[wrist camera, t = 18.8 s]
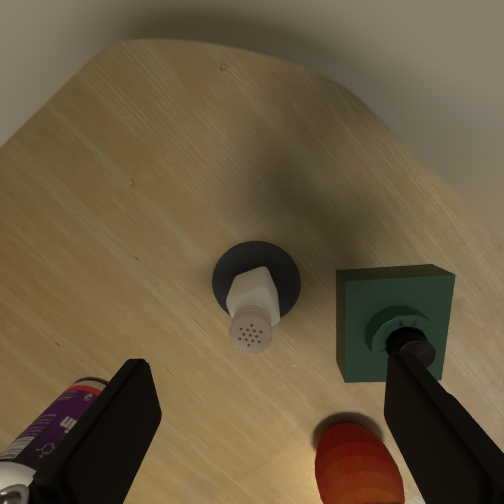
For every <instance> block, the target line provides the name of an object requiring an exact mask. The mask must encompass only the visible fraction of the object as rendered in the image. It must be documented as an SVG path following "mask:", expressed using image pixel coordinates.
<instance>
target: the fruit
mask: <svg viewBox="0 0 504 504" xmlns="http://www.w3.org/2000/svg"><path fill="white" fill-rule="evenodd" d="M315 477H316V481H317V485H318V489H319V493H320V497H321V500H322V502H323V503H324V504H404V502H405V496H404V488H403V481H402V477H401V474H400V472H399V469H398V466H397V464H396V463H395V461H394V459H393V458H392V456H391V454H390V453H389V451H388V449H387V448H386V446H385V445H384V444H383V443H382V441H381V440H380V439H379V438H378V437H377V436H376V435H375V434H373V433H372V432H371V431H370V430H368V429H366V428H365V427H363V426H361V425H358V424H355V423H341V424H337V425H335V426H332V427H331V428H329V429H328V430H327V431H326V432H325V433H324V435H323V437H322V438H321V440H320V441H319V443H318V447H317V453H316V458H315Z"/></svg>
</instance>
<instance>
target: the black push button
mask: <svg viewBox="0 0 504 504" xmlns="http://www.w3.org/2000/svg"><path fill="white" fill-rule="evenodd" d="M386 345H387V348H388V350H389V351H390V353H391V354H393V352H409V351H410V352H413V353H414V354H415V355H416V357H417V358H418V359H419V360H420V361H421V363H422V364H423V365H424V366H425V367H426V368H428V367H429V366H430V365H431V364H432V363H433V362H434V360H435V357H436V351H435V349H434V347H433V346H432V345H431V344H430V343H429V342H428V341H427V340H426V339H425V338H424V337H423V336H422V335H421V334H420V333H419V332H418V331H416V330H415V329H412V328H408V327H403V328H399V329H397V330H395V331H393V332H392V333H391V334H390V335H389V336H388V338H387V342H386Z"/></svg>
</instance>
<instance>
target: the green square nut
mask: <svg viewBox="0 0 504 504" xmlns="http://www.w3.org/2000/svg"><path fill="white" fill-rule="evenodd" d="M454 282H455V274H453V273H451V272H448V271H446V270H444V269H442V268H439V267H437V266H435V265H433V264H429V265H413V266H398V267H382V268H367V269H351V270H337V271H336V328H337V364H338V367H339V369H340V372H341V374H342V377H343V379H344V382H345V383H354V382H386V376H387V363H388V357H389V356H392V354H391V353H390V351H389V350H388V348H387V345H386V342H387V338H388V336H389V335H390V334H391V333H392V332H393V331H395V330H397V329H399V328H403V327H408V328H412V329H415V330H416V331H418V332H419V333H420V334H421V335H422V336H423V337H424V338H425V339H426V340H427V341H428V342H429V343H430V344H431V345H432V346H433V347H434V349H435V351H436V357H435V360H434V362H433V363H432V364H431V365H430V366H429V367H428V368H427V370H428V371H429V372H430V373H431V374H432V375H433V377H434V378H435V379H436V380H441V378H442V371H443V364H444V356H445V349H446V341H447V334H448V326H449V319H450V311H451V304H452V296H453V289H454Z"/></svg>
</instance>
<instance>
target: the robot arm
mask: <svg viewBox="0 0 504 504" xmlns="http://www.w3.org/2000/svg"><path fill="white" fill-rule="evenodd" d="M161 417H162V413H161V408H160V404H159V401H158V397H157V393H156V389H155V385H154V381H153V377H152V373H151V370H150V366H149V363H147V362H146V361H145V360H144V359H129V360H127V361H126V362H125V363H124V365H123V366H122V367H121V368H120V369H119V371H118V372H117V373H116V374H115V376H114V377H113V378H112V379H111V380H110V382H109V383H108V384H107V385H106V387H105V388H104V389H103V390H102V391H101V393H100V394H99V395H98V396H97V398H96V399H95V400H94V401H93V402H92V404H91V405H90V406H89V407H88V409H87V410H86V411H85V412H84V414H83V415H82V416H81V417H80V418H79V420H78V421H77V422H76V423H75V425H74V426H73V427H72V428H71V429H70V431H69V432H68V433H67V434H66V436H65V437H64V438H63V439H62V440H61V442H60V443H59V444H58V445H57V447H56V448H55V449H54V450H53V451H52V453H51V454H50V455H49V456H48V458H47V459H46V460H45V461H44V463H43V464H42V465H41V466H40V467H39V469H38V470H37V471H36V472H35V474H34V475H33V476H32V477H33V480H32V482H31V483H30V484H29V485H28V487H27V486H26V485H24V484H15V485H10V486H8V487H6V488H4V489H2V490H0V504H123V502H124V500H125V498H126V496H127V493H128V491H129V489H130V487H131V485H132V483H133V480H134V478H135V476H136V474H137V472H138V470H139V467H140V465H141V463H142V461H143V459H144V457H145V454H146V452H147V450H148V448H149V446H150V444H151V441H152V439H153V437H154V435H155V433H156V431H157V428H158V426H159V424H160V422H161ZM384 417H385V420H386V423H387V425H388V427H389V429H390V431H391V433H392V436H393V438H394V440H395V442H396V444H397V446H398V448H399V450H400V452H401V454H402V456H403V458H404V460H405V462H406V464H407V466H408V468H409V470H410V472H411V474H412V476H413V478H414V480H415V483H416V485H417V487H418V489H419V491H420V493H421V495H422V497H423V499H424V501H425V503H426V504H504V453H503V452H502V451H501V450H500V449H499V447H498V446H497V445H496V444H495V443H494V442H493V441H492V439H491V438H490V437H489V436H488V435H487V434H486V433H485V431H484V430H483V429H482V428H481V427H480V426H479V424H478V423H477V422H476V421H475V420H474V419H473V418H472V416H471V415H470V414H469V413H468V412H467V411H466V410H465V408H464V407H463V406H462V405H461V404H460V403H459V402H458V400H457V399H456V398H455V397H454V396H453V395H451V394H449V393H448V392H446V391H445V389H444V388H443V387H442V386H441V385H440V384H439V382H438V381H437V380H436V379H435V378H434V377H433V375H432V374H431V373H430V372H429V371H428V370H427V368H426V367H425V366H424V365H423V364H422V363H421V361H420V360H419V359H418V358H417V357H416V355H415V354H414V353H413V352H410V351H409V352H393V354H392V356H389V357H388V363H387V376H386V390H385V403H384Z"/></svg>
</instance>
